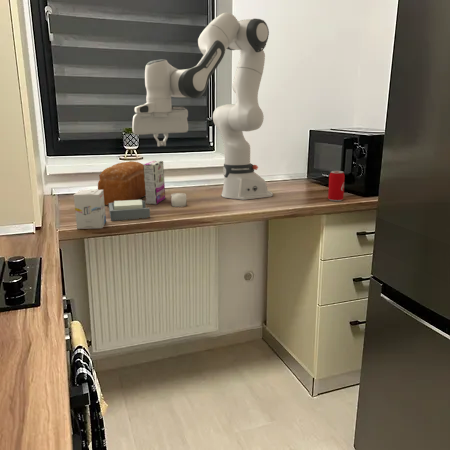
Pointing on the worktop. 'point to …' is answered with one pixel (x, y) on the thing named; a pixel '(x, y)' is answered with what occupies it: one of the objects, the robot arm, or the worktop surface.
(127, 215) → the grey rectangular tray
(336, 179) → the beverage can
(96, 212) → the ink box
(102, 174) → the bread
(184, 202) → the white rounded block
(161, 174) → the candy bar box
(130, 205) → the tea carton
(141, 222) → the worktop surface
